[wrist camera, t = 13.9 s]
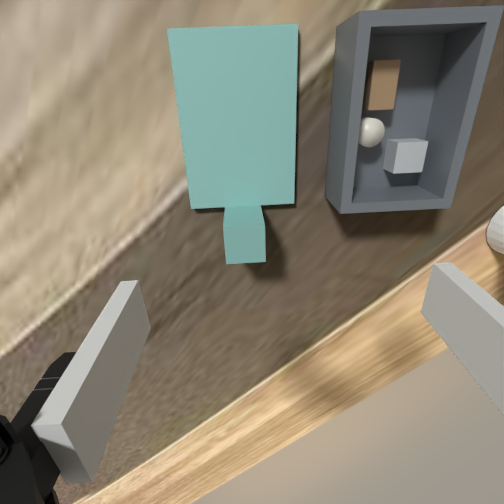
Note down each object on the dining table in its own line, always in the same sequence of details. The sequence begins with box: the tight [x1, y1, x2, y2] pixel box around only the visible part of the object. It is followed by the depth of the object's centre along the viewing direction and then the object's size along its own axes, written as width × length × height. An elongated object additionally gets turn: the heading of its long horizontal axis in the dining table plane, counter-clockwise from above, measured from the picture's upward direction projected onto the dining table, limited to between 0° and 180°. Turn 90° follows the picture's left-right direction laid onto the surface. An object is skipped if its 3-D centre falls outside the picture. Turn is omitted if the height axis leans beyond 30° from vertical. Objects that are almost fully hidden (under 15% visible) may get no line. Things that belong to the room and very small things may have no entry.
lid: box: [167, 24, 298, 264], centre depth 30 cm, size 21×12×7 cm, turn 2°
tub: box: [325, 5, 504, 214], centre depth 30 cm, size 16×11×6 cm
